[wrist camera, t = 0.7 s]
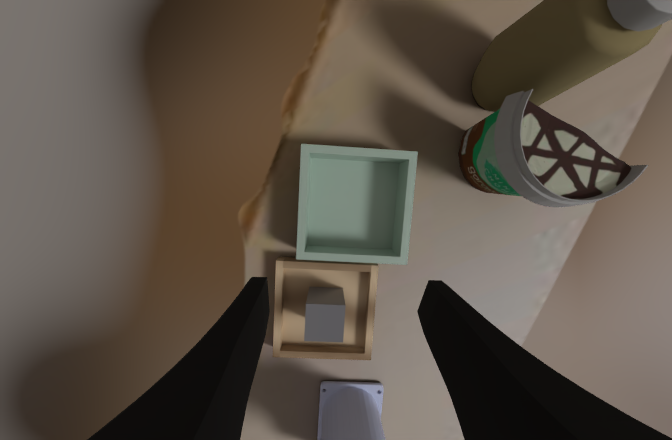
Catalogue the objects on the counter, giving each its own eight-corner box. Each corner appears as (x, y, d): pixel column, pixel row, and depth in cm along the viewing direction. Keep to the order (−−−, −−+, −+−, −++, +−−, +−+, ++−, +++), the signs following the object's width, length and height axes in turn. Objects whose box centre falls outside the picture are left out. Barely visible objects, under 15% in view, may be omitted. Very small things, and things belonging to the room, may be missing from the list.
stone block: (340, 319, 29) (343, 342, 25) (307, 318, 29) (304, 341, 24) (342, 287, 29) (345, 305, 24) (309, 286, 28) (305, 303, 24)
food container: (427, 171, 28) (481, 158, 18) (455, 124, 28) (526, 84, 18) (512, 221, 29) (607, 236, 19) (540, 177, 29) (653, 168, 19)
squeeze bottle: (533, 48, 27) (939, -240, 9) (526, 122, 28) (885, -5, 10) (463, 46, 27) (738, -254, 9) (458, 121, 28) (701, -12, 10)
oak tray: (368, 350, 30) (370, 360, 28) (276, 347, 30) (272, 357, 28) (375, 261, 29) (378, 265, 27) (279, 256, 29) (276, 260, 27)
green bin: (396, 255, 29) (407, 264, 25) (300, 250, 29) (296, 259, 25) (404, 157, 28) (417, 151, 24) (304, 151, 27) (301, 143, 23)
